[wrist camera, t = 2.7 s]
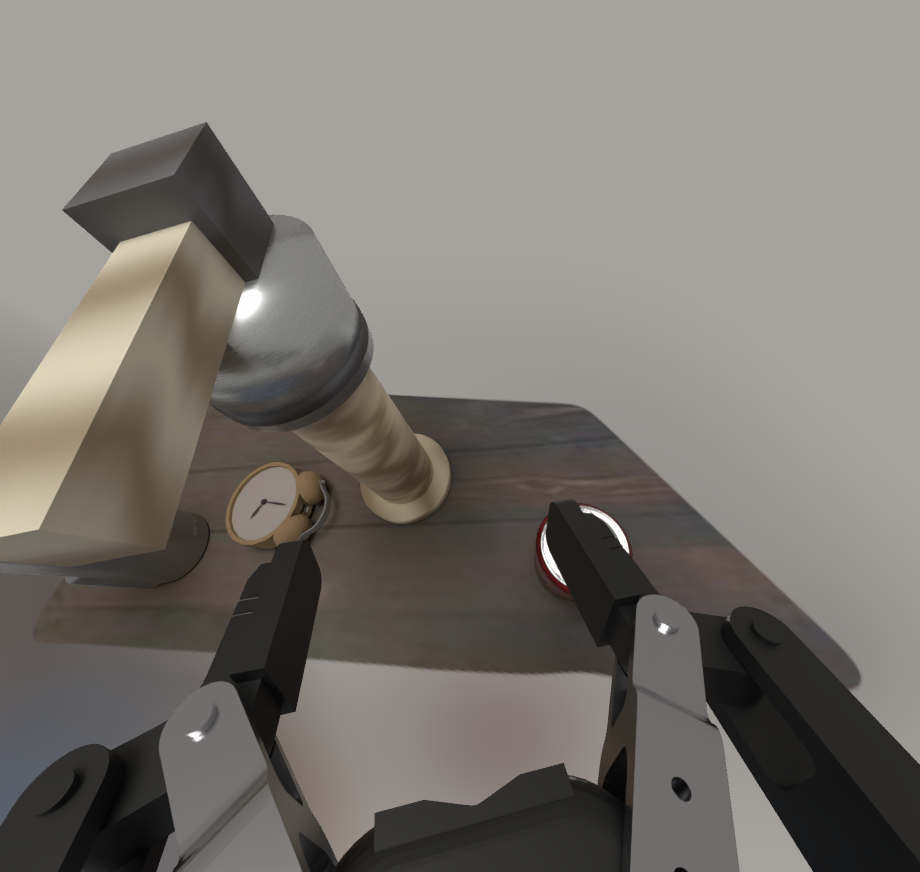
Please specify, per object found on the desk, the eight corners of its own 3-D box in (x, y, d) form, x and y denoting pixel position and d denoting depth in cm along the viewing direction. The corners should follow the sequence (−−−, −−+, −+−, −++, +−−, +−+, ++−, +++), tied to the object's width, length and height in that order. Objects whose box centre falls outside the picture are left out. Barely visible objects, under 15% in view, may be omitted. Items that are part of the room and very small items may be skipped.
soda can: (594, 527, 37) (620, 496, 26) (611, 599, 34) (648, 596, 23) (529, 533, 38) (529, 505, 28) (539, 602, 35) (543, 601, 24)
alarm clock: (248, 459, 47) (326, 462, 41) (276, 471, 51) (350, 476, 45) (209, 537, 42) (290, 554, 37) (243, 545, 46) (321, 561, 41)
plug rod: (186, 545, 10) (-33, 506, 6) (49, 570, 11) (-234, 549, 7) (273, 223, 19) (206, 122, 15) (196, 245, 19) (111, 153, 15)
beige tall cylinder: (399, 544, 40) (135, 417, 13) (351, 479, 46) (94, 296, 19) (470, 479, 42) (368, 255, 15) (416, 424, 48) (271, 189, 21)
